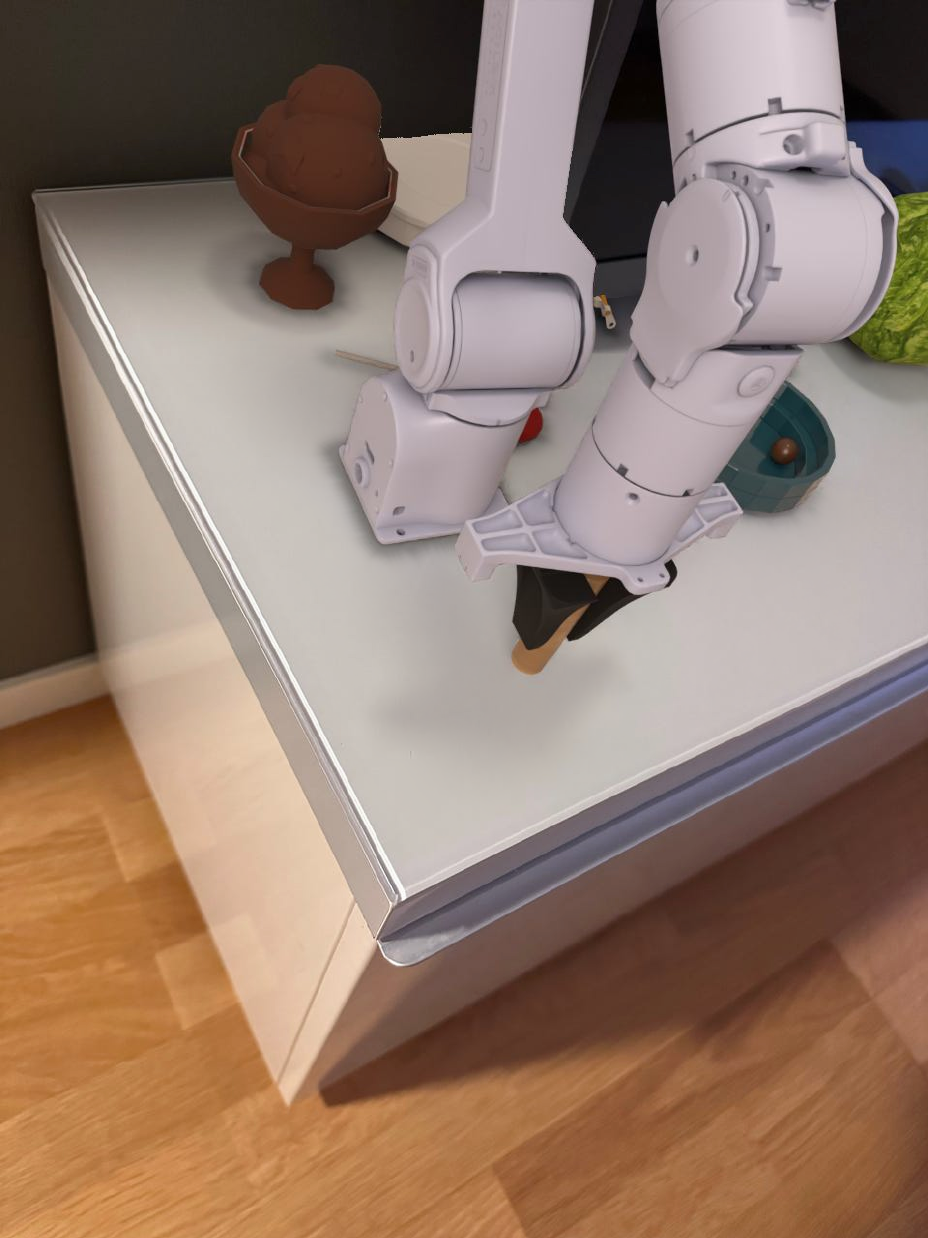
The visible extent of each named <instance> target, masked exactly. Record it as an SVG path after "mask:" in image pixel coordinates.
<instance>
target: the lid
mask: <svg viewBox="0 0 928 1238" xmlns="http://www.w3.org/2000/svg"><path fill="white" fill-rule="evenodd" d="M381 141H382V144H383V147H384V150H385V153H386V156H387V160H388V161H389V162H390V163H391V165H392V166H393V167H394V168H395V169H396V170H397V171H398V172H399V173H398V183H397V194H396V201H395V203H394V205H393V207H392V209H391V211H390V213H389V215H388V217H387V219H386V220H385V221H384V222H383V223H382V224H381V226H380V227H379V228H378V229H377V230H378V231H379V232H381V233H382V234H384V235H386V236H387V237H389V238H391V239H392V240H394V241H396V242H397V243H399V244H401V245H402V246H405V247H408V248H410V241H411V240H412V238H414V237H415V236H416V235H417V234H418V233H420V232H421V231H422V230H424V229H425V228H427V227H428V226H430V225H431V224H432V223H434V222H435V221H437V220H438V219H440V218H441V217H442V216H444V215H445V214H447V213H448V212H449V211H451V210H452V209H453V208H455V207H456V206H457V205H459V204H460V203H461V202H462V201H463V200H464V199H465V195H466V185H467V174H468V164H469V154H470V144H471V133H464V134H463V133H451V134H450V133H449V134H436V135H435V134H434V135H428V136H421V137H412V138H403V137H401V138H400V137H399V138H398V137H397V138H383V139H382V138H381Z"/></svg>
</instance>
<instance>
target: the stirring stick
mask: <svg viewBox="0 0 928 1238" xmlns="http://www.w3.org/2000/svg"><path fill="white" fill-rule="evenodd" d="M583 574H584V575H585V577H586V579H587V581H588V582H589V584H590V586H591V588H592V589H593V591H594V593H595V595H596V596H597V594H598V593H599V592H600V590H601V589H602V588H603V586H604V585H605V583H606V582H607V581H608V579H609V578H610V577H608V576H600V575H593V574H585V573H583ZM589 605H590V604H588V605H586V606H584V607H582V608H580V609H579V610H577V611H576V612H574V613H573V614H572V615H571V616H569V617H568V618H567V619H566V620H565V621H564V622H563V623H562V624H561V625H560V627H559V628H558V629H557V631H556V632H555V633H554V634H553V636H552V637H551V638H550V639H549V641H548V642H547V643H545V644H544V645H543V646H541V647H540V648H538V649H533V650H527V649H526V648H525V646H524V644H523V642H522V640H521V638H520V637H519V639H518V640H517V642H516V644H514V646H513V648H512V650H511V652H510V659H511V662H512V664H513V666H514V667H515V668H516V669H517V671H519V672H520V673H523V674H524V675H528V676H529V675H530V676H534V675H538V674H540V673H541V672H542V671H543V670H544V668H545V667H546V666H547V664H548V663H549V662H550V660H551V659H552V658H553V656H554V655H555V654H556V653H557V651H558V649H559V648H560V647H561V645H562V644H563V642H564V641H565V640H566V639H567V638H566V637H567V636H568V634H569V633H570V631H571V630H572V629H573V627H574V626H575V625H576V623H577V622H578V620H579V619H580V618H581V616H582V615H583V614H584V612H585V611H586V609H587V608H588V607H589Z"/></svg>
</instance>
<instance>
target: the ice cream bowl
mask: <svg viewBox="0 0 928 1238" xmlns="http://www.w3.org/2000/svg"><path fill="white" fill-rule="evenodd" d="M381 118H382V103H381V101H380V100H379V98H378V94H377V93H376V91H375V89H374V88H373V87H372V86H371V84H370V83H369V81H368V80H367V79H366V77H363V76H362V75H361V74H360V73H358V72H356V71H355V70H354V69H351V68H349V67H345V66H341V65H337V64H335V65H334V64H323V63H318V64H316V65H315V66H314V68H310V69H309V70H307V71H306V72H305V73H304V74H303V75H300V76H298V77H296V78H294V80H292V82H291V83H290V85H289V86H288V88H287V92H286V97H285V99H283V100H278V101H277V102H274V103H273V104H269V105H267V106H266V107H265V108H264V110H263V112H261V114H260V115H259V117H258V118H257V121H256V122H252V123H250V124H246V125H244V126H240V127H239V128H238V130H237V134H236V137H235V139H234V144H233V148H232V151H231V153H230V159H231V166H232V176H233V180H234V181H235V184H236V188H237V190H238V192H239V194H240V197H241V198H242V199H243V200H244V202H245V203H246V204H247V205H248V206H249V208H250V209H251V210H252V212H253V213H254V214H255V215H256V216H257V217H258V219H259V220H260V221H261V222H262V224H263V225H264V226H265V227H266V228H267V229H268V231H269V232H270V233H271V234H272V235H275V236H276V237H278V238H280V239H282V240H283V241H286V242H288V243H290V244H291V250H290V255H289V257H288V256H284V257H283V256H280V257H278V258H275V259H274V260H271V261H269V262H266V263H265V264H264V265H263V267H262V270H261V274H260V278H259V281H258V282H259V283H258V284H259V286H260V287H261V288H262V290H263V291H264V293H265V294H266V295H267V296H268V297H269V299H270V300H272V301H275V302H276V303H278V304H281V305H283V306H284V307H285V306H286V307H287V308H290V309H292V310H307V311H308V310H309V311H318V310H320V309H321V308H323V307H325V306H328V305H330V304H331V303H333V302H334V294H335V281H334V280H333V279H332V277H331V276H330V275H329V274H328V272H327V271H326V270H325V269H324V268H323V266H321V265H318V264H316V263H315V262H314V261H315V255H316V251H317V250H320V251H334V250H335V251H337V250H339V249H340V248H343V247H346V246H347V245H349V244H351V243H353V242H356V241H358V240H360V239H362V238H363V237H366V236H368V235H370V234H372V233H374V232H376V231H377V230H378V228H379V227H380V226H381V224H382V223H383V222H384V221H385V220H386V219H387V217H388V215H389V213H390V211H391V209H392V207H393V205H394V203H395V201H396V194H397V183H398V173H399V172H398V171H397V170H396V169H395V168H394V167H393V166H392V165H391V163H390V162H389V161H388V160H387V156H386V153H385V150H384V147H383V144H382V141H381V139H380V138H379V136H378V135H379V132H380V128H381Z"/></svg>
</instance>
